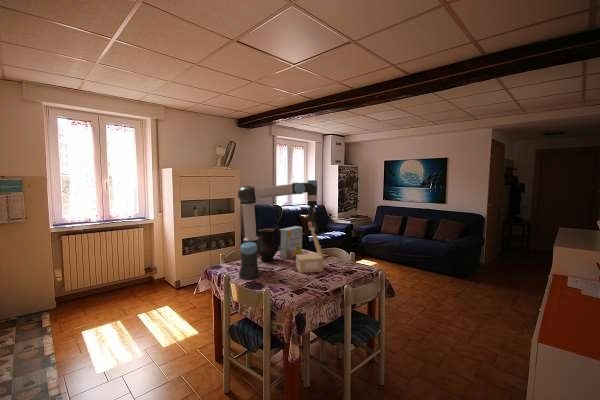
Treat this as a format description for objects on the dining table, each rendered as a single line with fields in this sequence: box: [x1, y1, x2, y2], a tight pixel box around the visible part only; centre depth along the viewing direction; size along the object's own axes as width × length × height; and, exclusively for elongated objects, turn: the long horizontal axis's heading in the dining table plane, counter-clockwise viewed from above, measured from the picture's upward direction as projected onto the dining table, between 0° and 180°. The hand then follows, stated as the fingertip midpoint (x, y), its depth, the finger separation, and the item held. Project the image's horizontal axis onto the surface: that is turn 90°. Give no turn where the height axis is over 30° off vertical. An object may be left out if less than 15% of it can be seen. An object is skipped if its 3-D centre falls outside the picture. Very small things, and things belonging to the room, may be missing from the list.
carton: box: [295, 252, 324, 274], centre depth 221 cm, size 18×14×10 cm
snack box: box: [279, 225, 303, 260], centre depth 256 cm, size 22×9×26 cm, turn 143°
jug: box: [257, 226, 281, 263], centre depth 241 cm, size 21×18×30 cm
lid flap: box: [307, 221, 324, 258], centre depth 221 cm, size 27×13×4 cm
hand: (311, 230), depth 220 cm, fingers closed on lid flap, 5 cm apart
